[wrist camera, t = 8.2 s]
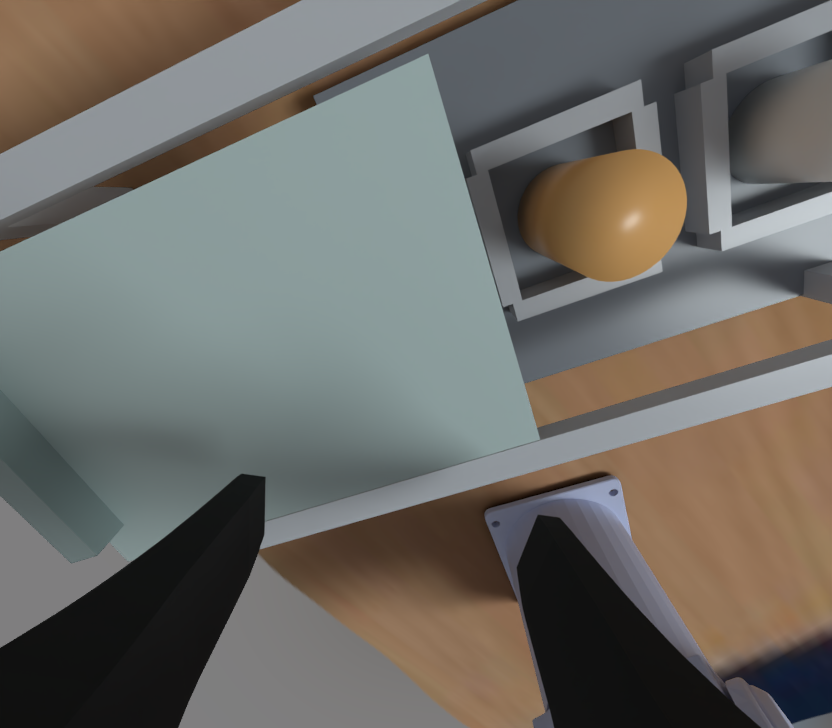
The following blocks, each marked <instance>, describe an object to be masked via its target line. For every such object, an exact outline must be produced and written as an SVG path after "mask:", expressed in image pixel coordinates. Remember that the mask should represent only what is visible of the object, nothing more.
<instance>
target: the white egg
mask: <svg viewBox="0 0 832 728" xmlns="http://www.w3.org/2000/svg"><path fill="white" fill-rule="evenodd" d="M728 131H729V158H730V173H731V174H732V175H733V176H734V177H735V178H736V179H738V180H739V181H742V182H744V183H748V184H776V183H807V182H832V59H831V60H828V61H825V62H822V63H819V64H816V65H813V66H810V67H807V68H804V69H800V70H797V71H794V72H791V73H788V74H785V75H782V76H779V77H776V78H773V79H771V80H769V81H766V82H764V83H763V84H761V85H760V86H758V87H757V88H755V89H754V90H753V91H752V92H751V93H749V94H748V95H747V96H746V97H745V98H744V100H743V101H742V102H741V103H740V104H739V106H738V107H737V108H736V110H735V111H734V113H733V115H732V116H731V119H730V121H729V123H728Z"/></svg>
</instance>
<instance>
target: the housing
mask: <svg viewBox="0 0 832 728" xmlns="http://www.w3.org/2000/svg"><path fill="white" fill-rule="evenodd" d="M484 1H486V0H302V1H300V2H298V3H296V4H294V5H292V6H290V7H288V8H286V9H284V10H282V11H280V12H278V13H276V14H274V15H272V16H270V17H268V18H266V19H264V20H262V21H260V22H258V23H256V24H254V25H252V26H251V27H249V28H247V29H245V30H243V31H241V32H239V33H237V34H235V35H233V36H231V37H229V38H227V39H225V40H223V41H221V42H219V43H217V44H215V45H213V46H211V47H209V48H207V49H205V50H203V51H201V52H199V53H198V54H196V55H194V56H192V57H190V58H188V59H186V60H184V61H182V62H180V63H178V64H176V65H174V66H172V67H170V68H168V69H166V70H164V71H162V72H160V73H158V74H156V75H154V76H152V77H150V78H148V79H147V80H145V81H143V82H141V83H139V84H137V85H135V86H133V87H131V88H129V89H127V90H125V91H123V92H121V93H119V94H117V95H115V96H113V97H111V98H109V99H107V100H105V101H103V102H101V103H99V104H97V105H95V106H94V107H92V108H90V109H88V110H86V111H84V112H82V113H80V114H78V115H76V116H74V117H72V118H70V119H68V120H66V121H64V122H62V123H60V124H58V125H56V126H54V127H52V128H50V129H48V130H46V131H44V132H42V133H41V134H39V135H37V136H35V137H33V138H31V139H29V140H27V141H25V142H23V143H21V144H19V145H17V146H15V147H13V148H11V149H9V150H7V151H5V152H3V153H1V154H0V240H5V239H15V238H24V237H33V236H35V235H37V234H39V233H42V232H44V231H46V230H48V229H50V228H52V227H54V226H57V225H59V224H61V223H63V222H65V221H67V220H70V219H72V218H74V217H76V216H78V215H80V214H83V213H85V212H87V211H89V210H91V209H93V208H96V207H98V206H100V205H102V204H104V203H106V202H109V201H111V200H113V199H115V198H117V197H119V196H121V195H124V194H126V193H128V192H130V191H132V190H133V189H132V188H125V187H93V186H95V185H97V184H99V183H102V182H104V181H106V180H108V179H110V178H112V177H114V176H116V175H118V174H121V173H123V172H125V171H127V170H129V169H131V168H133V167H135V166H138V165H140V164H142V163H144V162H146V161H148V160H150V159H152V158H154V157H157V156H159V155H161V154H163V153H165V152H167V151H169V150H171V149H173V148H176V147H178V146H180V145H182V144H184V143H186V142H188V141H190V140H193V139H195V138H197V137H199V136H201V135H203V134H205V133H207V132H209V131H212V130H214V129H216V128H218V127H220V126H222V125H224V124H226V123H228V122H231V121H233V120H235V119H237V118H239V117H241V116H243V115H245V114H247V113H250V112H252V111H254V110H256V109H258V108H260V107H262V106H264V105H267V104H269V103H271V102H273V101H275V100H277V99H279V98H281V97H283V96H286V95H288V94H290V93H292V92H294V91H296V90H298V89H300V88H302V87H305V86H307V85H309V84H311V83H313V82H315V81H317V80H319V79H322V78H324V77H326V76H328V75H330V74H332V73H334V72H336V71H338V70H341V69H343V68H345V67H347V66H349V65H351V64H353V63H355V62H357V61H360V60H362V59H364V58H366V57H368V56H370V55H372V54H374V53H377V52H379V51H381V50H383V49H385V48H387V47H389V46H391V45H393V44H396V43H398V42H400V41H402V40H404V39H406V38H408V37H410V36H412V35H415V34H417V33H419V32H421V31H423V30H425V29H427V28H429V27H431V26H434V25H436V24H438V23H440V22H442V21H444V20H446V19H448V18H451V17H453V16H455V15H457V14H459V13H461V12H463V11H465V10H467V9H470V8H472V7H474V6H476V5H478V4H480V3H482V2H484ZM426 54H429V58H430V61H431V65H432V68H433V72H434V75H435V79H436V82H437V85H438V89H439V92H440V96H441V99H442V103H443V106H444V110H445V113H446V116H447V120H448V123H449V127H450V130H451V134H452V137H453V141H454V144H455V147H456V151H457V154H458V158H459V161H460V165H461V168H462V172H463V175H464V178H465V182H466V185H467V189H468V192H469V196H470V199H471V203H472V206H473V210H474V213H475V216H476V220H477V223H478V227H479V230H480V234H481V237H482V241H483V244H484V247H485V251H486V254H487V258H488V261H489V265H490V268H491V272H492V275H493V278H494V282H495V285H496V289H497V292H498V296H499V299H500V303H501V306H502V309H503V313H504V316H505V320H506V323H507V327H508V330H509V334H510V337H511V340H512V344H513V347H514V351H515V354H516V358H517V361H518V365H519V368H520V372H521V375H522V378H523V382H524V383H528V382H531V381H534V380H537V379H540V378H543V377H546V376H549V375H553V374H556V373H559V372H562V371H565V370H568V369H571V368H575V367H578V366H581V365H584V364H587V363H590V362H593V361H596V360H600V359H603V358H606V357H609V356H612V355H615V354H618V353H622V352H625V351H628V350H631V349H634V348H637V347H640V346H644V345H647V344H650V343H653V342H656V341H659V340H662V339H665V338H669V337H672V336H675V335H678V334H681V333H684V332H687V331H691V330H694V329H697V328H700V327H703V326H706V325H709V324H712V323H716V322H719V321H722V320H725V319H728V318H731V317H734V316H738V315H741V314H744V313H747V312H750V311H753V310H756V309H759V308H763V307H766V306H769V305H772V304H775V303H778V302H781V301H785V300H788V299H791V298H794V297H797V296H803V297H807V298H811V299H815V300H819V301H822V302H826V303H830V304H832V182H807V183H776V184H748V183H744V182H742V181H739V180H738V179H736V178H735V177H734V176H733V175H732V174H731V173H730V158H729V131H728V123H729V121H730V119H731V116H732V115H733V113H734V111H735V110H736V108H737V107H738V106H739V104H740V103H741V102H742V101H743V100H744V98H745V97H746V96H747V95H748V94H749V93H751V92H752V91H753V90H754V89H755V88H757V87H758V86H760V85H761V84H763V83H764V82H766V81H769V80H771V79H773V78H776V77H779V76H782V75H785V74H788V73H791V72H794V71H797V70H800V69H804V68H807V67H810V66H813V65H816V64H819V63H822V62H825V61H828V60H831V59H832V0H518V1H515V2H513V3H511V4H509V5H507V6H505V7H503V8H501V9H498V10H496V11H494V12H492V13H490V14H488V15H486V16H483V17H481V18H479V19H477V20H475V21H473V22H471V23H468V24H466V25H464V26H462V27H460V28H458V29H456V30H453V31H451V32H449V33H447V34H445V35H443V36H441V37H438V38H436V39H434V40H432V41H430V42H428V43H426V44H423V45H421V46H419V47H417V48H415V49H413V50H411V51H408V52H406V53H404V54H402V55H400V56H398V57H396V58H393V59H391V60H389V61H387V62H385V63H383V64H381V65H378V66H376V67H374V68H372V69H370V70H368V71H366V72H364V73H361V74H359V75H357V76H355V77H353V78H351V79H349V80H346V81H344V82H342V83H340V84H338V85H336V86H334V87H331V88H329V89H327V90H325V91H323V92H321V93H319V94H316V95H314V96H313V97H314V99H315V102H316V104H317V105H318V104H320V103H322V102H325V101H327V100H329V99H331V98H333V97H335V96H338V95H340V94H342V93H344V92H346V91H348V90H351V89H353V88H355V87H357V86H359V85H361V84H364V83H366V82H368V81H370V80H372V79H374V78H377V77H379V76H381V75H383V74H385V73H387V72H389V71H392V70H394V69H396V68H398V67H400V66H402V65H405V64H407V63H409V62H411V61H413V60H415V59H418V58H420V57H422V56H424V55H426ZM631 149H643V150H650V151H653V152H656V153H658V154H660V155H662V156H664V157H665V158H667V159H668V160H669V161H671V162H672V163H673V165H674V166H675V167H676V168H677V170H678V171H679V173H680V174H681V176H682V179H683V181H684V184H685V188H686V195H687V209H686V216H685V219H684V223H683V226H682V229H681V231H680V233H679V235H678V237H677V239H676V241H675V242H674V244H673V246H672V247H671V248H670V250H669V251H668V252H667V253H666V255H665V256H664V257H663V258H662V259H661V260H660V261H659V262H658V263H656V264H655V265H654V266H653V267H651V268H650V269H648V270H647V271H645V272H643V273H641V274H640V275H638V276H635V277H633V278H630V279H626V280H622V281H616V282H604V281H597V280H594V279H591V278H589V277H586V276H584V275H582V274H580V273H578V272H576V271H574V270H572V269H570V268H568V267H566V266H564V265H562V264H560V263H557V262H555V261H553V260H551V259H549V258H547V257H545V256H543V255H541V254H539V253H537V252H535V251H534V250H532V249H531V248H530V247H529V246H528V245H527V244H526V243H525V241H524V239H523V238H522V236H521V234H520V231H519V227H518V217H517V215H518V207H519V203H520V200H521V197H522V195H523V193H524V191H525V189H526V188H527V186H528V185H529V184H530V182H531V181H532V180H533V179H534V178H535V177H536V176H537V175H538V174H540V173H541V172H542V171H544V170H546V169H547V168H550V167H552V166H554V165H558V164H562V163H567V162H572V161H576V160H581V159H586V158H591V157H595V156H600V155H605V154H610V153H614V152H619V151H624V150H631ZM829 387H832V339H831V340H828V341H825V342H821V343H818V344H815V345H811V346H808V347H805V348H801V349H798V350H795V351H792V352H788V353H785V354H782V355H778V356H775V357H772V358H768V359H765V360H762V361H758V362H755V363H752V364H748V365H745V366H742V367H738V368H735V369H732V370H728V371H725V372H722V373H718V374H715V375H712V376H708V377H705V378H702V379H698V380H695V381H692V382H688V383H685V384H682V385H678V386H675V387H672V388H668V389H665V390H662V391H658V392H655V393H652V394H648V395H645V396H642V397H638V398H635V399H632V400H628V401H625V402H622V403H619V404H615V405H612V406H609V407H605V408H602V409H599V410H595V411H592V412H589V413H585V414H582V415H579V416H575V417H572V418H569V419H565V420H562V421H559V422H555V423H552V424H549V425H545V426H542V427H539V428H537V430H538V434H539V437H540V440H537V441H534V442H531V443H527V444H524V445H521V446H517V447H514V448H510V449H507V450H504V451H500V452H497V453H494V454H490V455H487V456H483V457H480V458H477V459H473V460H470V461H466V462H463V463H460V464H456V465H453V466H450V467H446V468H443V469H439V470H436V471H433V472H429V473H426V474H423V475H419V476H416V477H412V478H409V479H406V480H402V481H399V482H395V483H392V484H389V485H385V486H382V487H379V488H375V489H372V490H368V491H365V492H362V493H358V494H355V495H352V496H348V497H345V498H341V499H338V500H335V501H331V502H328V503H324V504H321V505H318V506H314V507H311V508H308V509H304V510H301V511H297V512H294V513H291V514H287V515H284V516H281V517H277V518H274V519H270V520H267V521H265V531H264V538H263V541H262V543H261V546H260V549H263V548H266V547H270V546H273V545H277V544H280V543H284V542H287V541H291V540H294V539H298V538H301V537H305V536H308V535H312V534H315V533H319V532H323V531H326V530H330V529H333V528H337V527H340V526H344V525H347V524H351V523H354V522H358V521H361V520H365V519H368V518H372V517H375V516H379V515H382V514H386V513H389V512H393V511H396V510H400V509H403V508H407V507H410V506H414V505H417V504H421V503H424V502H428V501H432V500H435V499H439V498H442V497H446V496H449V495H453V494H456V493H460V492H463V491H467V490H470V489H474V488H477V487H481V486H484V485H488V484H491V483H495V482H498V481H502V480H505V479H509V478H512V477H516V476H519V475H523V474H526V473H530V472H534V471H537V470H541V469H544V468H548V467H551V466H555V465H558V464H562V463H565V462H569V461H572V460H576V459H579V458H583V457H586V456H590V455H593V454H597V453H600V452H604V451H607V450H611V449H614V448H618V447H621V446H625V445H628V444H632V443H636V442H639V441H643V440H646V439H650V438H653V437H657V436H660V435H664V434H667V433H671V432H674V431H678V430H681V429H685V428H688V427H692V426H695V425H699V424H702V423H706V422H709V421H713V420H716V419H720V418H723V417H727V416H730V415H734V414H737V413H741V412H745V411H748V410H752V409H755V408H759V407H762V406H766V405H769V404H773V403H776V402H780V401H783V400H787V399H790V398H794V397H797V396H801V395H804V394H808V393H811V392H815V391H818V390H822V389H825V388H829Z"/></svg>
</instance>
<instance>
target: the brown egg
mask: <svg viewBox="0 0 832 728" xmlns="http://www.w3.org/2000/svg"><path fill="white" fill-rule="evenodd" d="M686 209H687V195H686V188H685V184H684V181H683V179H682V176H681V174H680V173H679V171H678V170H677V168H676V167H675V166H674V165H673V163H672V162H671V161H669V160H668V159H667V158H665V157H664V156H662V155H660V154H658V153H656V152H653V151H650V150H643V149H631V150H624V151H619V152H614V153H610V154H605V155H600V156H595V157H591V158H586V159H581V160H576V161H572V162H567V163H562V164H558V165H554V166H552V167H550V168H547V169H546V170H544V171H542V172H541V173H540V174H538V175H537V176H536V177H535V178H534V179H533V180H532V181H531V182H530V184H529V185H528V186H527V188H526V189H525V191H524V193H523V195H522V197H521V200H520V203H519V207H518V215H517V217H518V227H519V231H520V234H521V236H522V238H523V239H524V241H525V243H526V244H527V245H528V246H529V247H530V248H531V249H532V250H534V251H535V252H537V253H539V254H541V255H543V256H545V257H547V258H549V259H551V260H553V261H555V262H557V263H560V264H562V265H564V266H566V267H568V268H570V269H572V270H574V271H576V272H578V273H580V274H582V275H584V276H586V277H589V278H591V279H594V280H597V281H604V282H616V281H622V280H626V279H630V278H633V277H635V276H638V275H640V274H641V273H643V272H645V271H647V270H648V269H650V268H651V267H653V266H654V265H655V264H656V263H658V262H659V261H660V260H661V259H662V258H663V257H664V256H665V255H666V253H667V252H668V251H669V250H670V248H671V247H672V246H673V244H674V242H675V241H676V239H677V237H678V235H679V233H680V231H681V229H682V226H683V223H684V219H685V216H686Z"/></svg>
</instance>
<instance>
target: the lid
mask: <svg viewBox="0 0 832 728" xmlns="http://www.w3.org/2000/svg"><path fill="white" fill-rule="evenodd" d="M537 440H540V437H539V434H538V430H537V427H536V423H535V420H534V416H533V413H532V409H531V406H530V403H529V399H528V396H527V392H526V389H525V385H524V382H523V378H522V375H521V372H520V368H519V365H518V361H517V358H516V354H515V351H514V347H513V344H512V340H511V337H510V334H509V330H508V327H507V323H506V320H505V316H504V313H503V309H502V306H501V303H500V299H499V296H498V292H497V289H496V285H495V282H494V278H493V275H492V272H491V268H490V265H489V261H488V258H487V254H486V251H485V247H484V244H483V241H482V237H481V234H480V230H479V227H478V223H477V220H476V216H475V213H474V210H473V206H472V203H471V199H470V196H469V192H468V189H467V185H466V182H465V178H464V175H463V172H462V168H461V165H460V161H459V158H458V154H457V151H456V147H455V144H454V141H453V137H452V134H451V130H450V127H449V123H448V120H447V116H446V113H445V110H444V106H443V103H442V99H441V96H440V92H439V89H438V85H437V82H436V79H435V75H434V72H433V68H432V65H431V61H430V58H429V54H426V55H424V56H422V57H420V58H418V59H415V60H413V61H411V62H409V63H407V64H405V65H402V66H400V67H398V68H396V69H394V70H392V71H389V72H387V73H385V74H383V75H381V76H379V77H377V78H374V79H372V80H370V81H368V82H366V83H364V84H361V85H359V86H357V87H355V88H353V89H351V90H348V91H346V92H344V93H342V94H340V95H338V96H335V97H333V98H331V99H329V100H327V101H325V102H322V103H320V104H318V105H316V106H314V107H312V108H310V109H307V110H305V111H303V112H301V113H299V114H297V115H294V116H292V117H290V118H288V119H286V120H284V121H281V122H279V123H277V124H275V125H273V126H271V127H268V128H266V129H264V130H262V131H260V132H258V133H255V134H253V135H251V136H249V137H247V138H245V139H243V140H240V141H238V142H236V143H234V144H232V145H230V146H227V147H225V148H223V149H221V150H219V151H217V152H214V153H212V154H210V155H208V156H206V157H204V158H201V159H199V160H197V161H195V162H193V163H191V164H188V165H186V166H184V167H182V168H180V169H178V170H176V171H173V172H171V173H169V174H167V175H165V176H163V177H160V178H158V179H156V180H154V181H152V182H150V183H147V184H145V185H143V186H141V187H139V188H137V189H134V190H132V191H130V192H128V193H126V194H124V195H121V196H119V197H117V198H115V199H113V200H111V201H109V202H106V203H104V204H102V205H100V206H98V207H96V208H93V209H91V210H89V211H87V212H85V213H83V214H80V215H78V216H76V217H74V218H72V219H70V220H67V221H65V222H63V223H61V224H59V225H57V226H54V227H52V228H50V229H48V230H46V231H44V232H42V233H39V234H37V235H35V236H33V237H31V238H29V239H26V240H24V241H22V242H20V243H18V244H16V245H13V246H11V247H9V248H7V249H5V250H3V251H0V496H1V497H2V498H3V499H4V500H5V501H7V503H8V504H9V505H10V506H12V507H13V508H14V509H15V510H16V511H17V512H18V513H19V514H20V515H21V516H22V517H23V518H24V519H25V520H26V521H27V522H28V523H30V525H31V526H32V527H33V528H35V529H36V530H37V531H38V532H39V533H40V534H41V535H42V536H43V537H44V538H45V539H46V540H47V541H48V542H49V543H50V544H51V545H52V546H53V547H55V548H56V549H57V550H58V551H59V552H60V553H61V554H62V555H63V556H64V557H65V558H66V559H67V560H68V561H69V562H70V563H75V562H78V561H81V560H85V559H88V558H91V557H94V556H97V555H98V554H99V553H100V552H101V551H102V550H103V549H104V547H105V546H106V545H107V544H108V543H109V542H110V543H111V544H112V545H113V547H114V548H115V549H116V550H118V552H119V553H120V554H121V555H122V556H123V557H124V558H125V559H126V560H127V561H132V560H135V559H136V558H137V557H139V556H140V555H142V554H143V553H144V552H146V551H147V550H148V549H150V548H151V547H152V546H154V545H155V544H156V543H158V542H159V541H160V540H161V539H163V538H164V537H165V536H167V535H168V534H169V533H170V532H172V531H173V530H174V529H175V528H176V527H178V526H179V525H180V524H181V523H183V522H184V521H185V520H186V519H188V518H189V517H190V516H191V515H193V514H194V513H195V512H196V511H197V510H199V509H200V508H201V507H202V506H203V505H204V504H206V503H207V502H208V501H209V500H210V499H212V498H213V497H214V496H215V495H216V494H217V493H219V492H220V491H221V490H222V489H223V488H224V487H225V486H227V485H228V484H229V483H230V482H231V481H232V480H233V479H235V478H236V477H237V476H238V475H240V474H249V475H256V476H263V477H266V483H265V521H267V520H270V519H274V518H277V517H281V516H284V515H287V514H291V513H294V512H297V511H301V510H304V509H308V508H311V507H314V506H318V505H321V504H324V503H328V502H331V501H335V500H338V499H341V498H345V497H348V496H352V495H355V494H358V493H362V492H365V491H368V490H372V489H375V488H379V487H382V486H385V485H389V484H392V483H395V482H399V481H402V480H406V479H409V478H412V477H416V476H419V475H423V474H426V473H429V472H433V471H436V470H439V469H443V468H446V467H450V466H453V465H456V464H460V463H463V462H466V461H470V460H473V459H477V458H480V457H483V456H487V455H490V454H494V453H497V452H500V451H504V450H507V449H510V448H514V447H517V446H521V445H524V444H527V443H531V442H534V441H537Z"/></svg>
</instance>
